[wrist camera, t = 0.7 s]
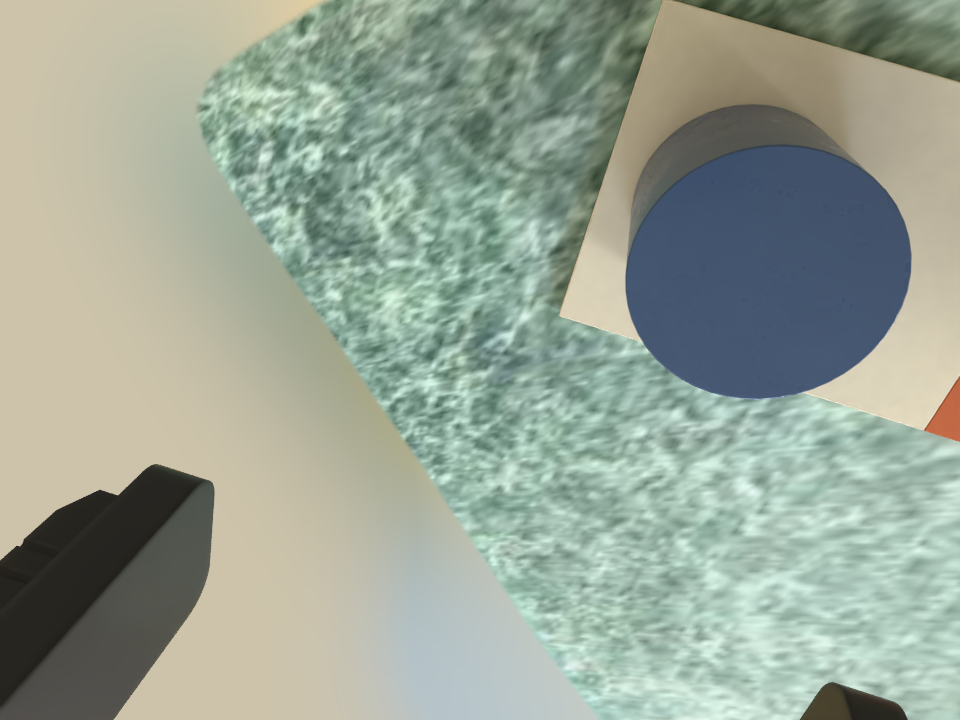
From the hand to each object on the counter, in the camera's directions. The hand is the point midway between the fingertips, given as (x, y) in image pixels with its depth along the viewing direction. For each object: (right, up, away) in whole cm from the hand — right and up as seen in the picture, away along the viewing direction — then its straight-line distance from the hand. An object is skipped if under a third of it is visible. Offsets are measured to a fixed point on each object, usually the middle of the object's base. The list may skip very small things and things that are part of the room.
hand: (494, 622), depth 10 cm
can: (+9, +9, +18) cm, 22 cm away
